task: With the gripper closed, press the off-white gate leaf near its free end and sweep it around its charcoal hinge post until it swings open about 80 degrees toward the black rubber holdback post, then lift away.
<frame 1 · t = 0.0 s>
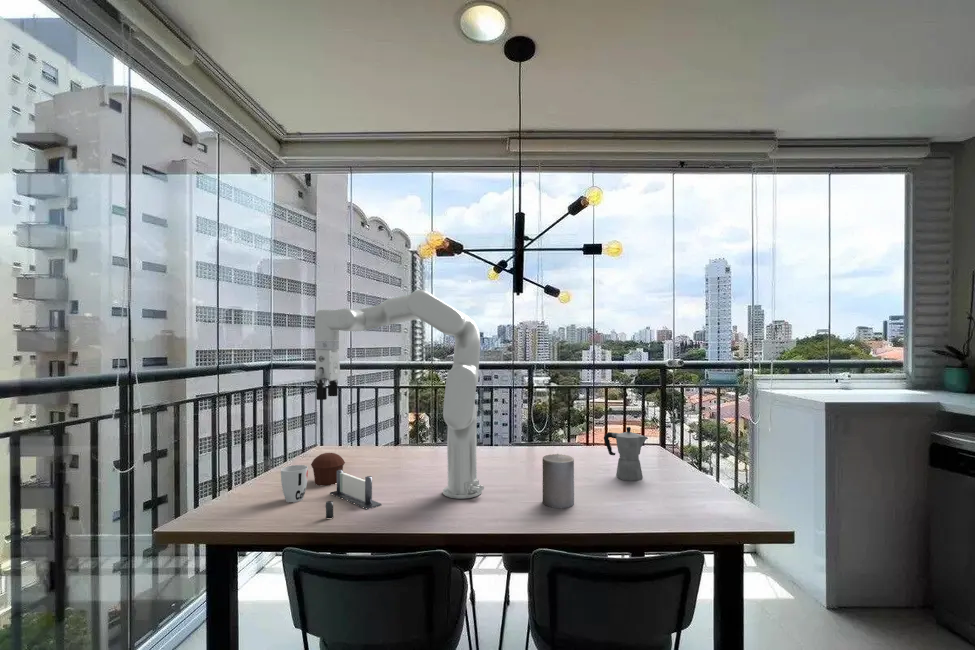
hand: (327, 397, 163), 31 cm above the table, tool pointing down, fingers open, 9 cm apart
pillar candle: (558, 503, 149), on the table
muffin: (328, 482, 174), on the table
coffeepot: (626, 477, 176), on the table
gate frame: (354, 499, 155), on the table
cup: (294, 500, 155), on the table
gate leaf: (353, 486, 155), point 4 cm above the table, hinge at 0.0°
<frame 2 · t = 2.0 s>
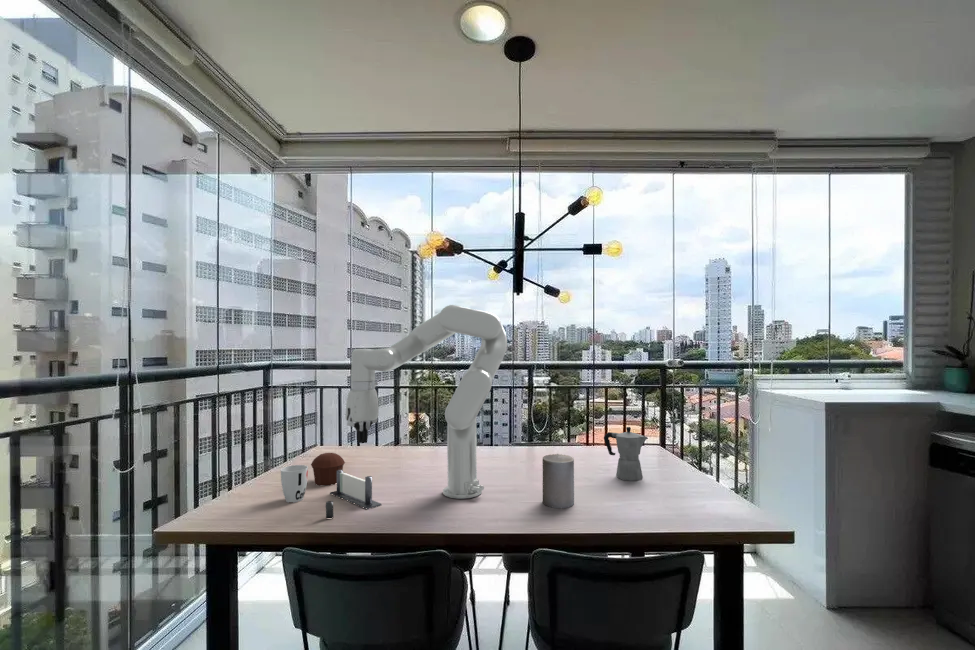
hand: (362, 442, 160), 17 cm above the table, tool pointing down, fingers closed
nothing on the table moved.
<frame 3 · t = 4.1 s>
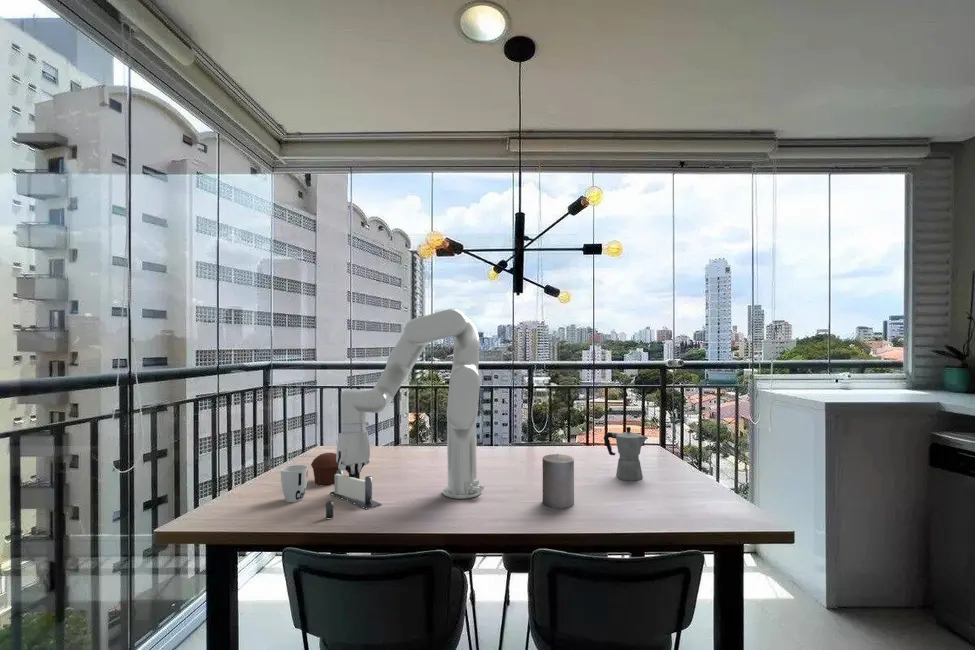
hand: (354, 485, 158), 4 cm above the table, tool pointing down, fingers closed
gate leaf: (350, 487, 154), point 4 cm above the table, hinge at 7.6°, touching gripper
everything else where it was.
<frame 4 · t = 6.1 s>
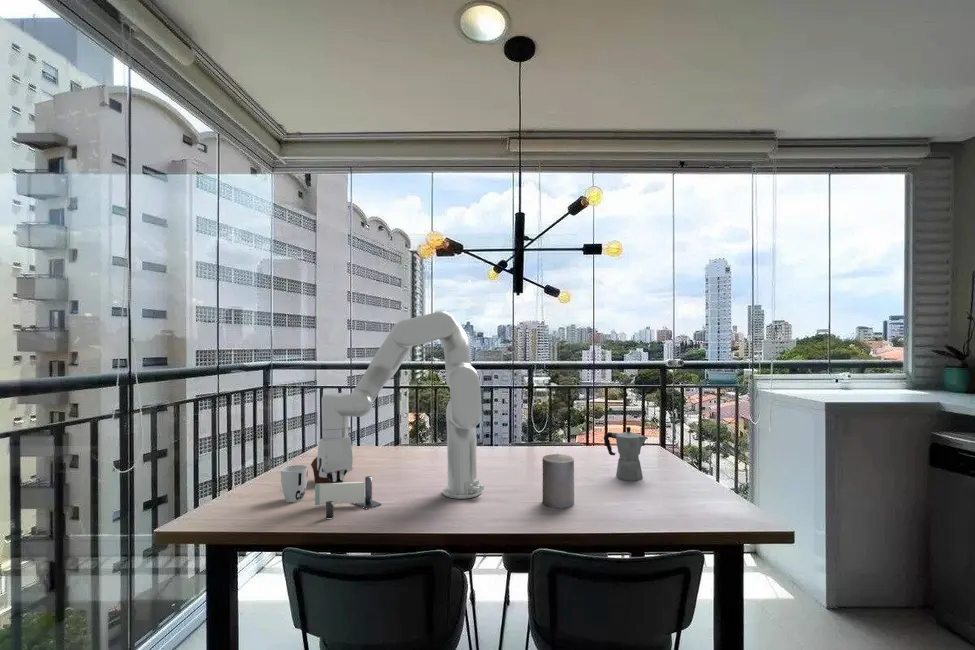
hand: (336, 493, 151), 3 cm above the table, tool pointing down, fingers closed
gate leaf: (340, 493, 148), point 4 cm above the table, hinge at 49.4°, touching gripper
everything else where it was.
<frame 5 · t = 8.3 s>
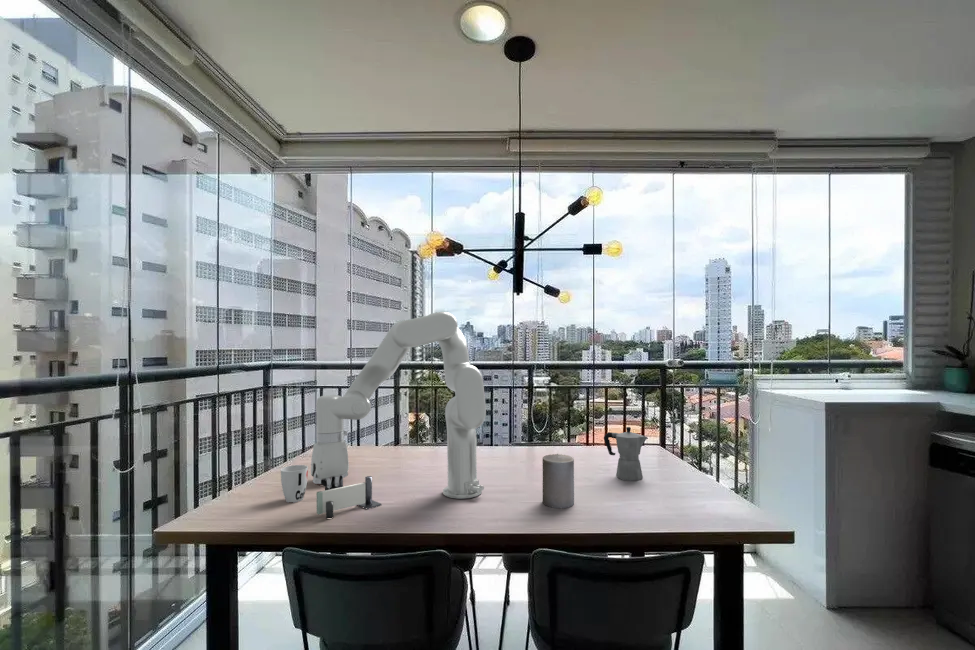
hand: (331, 500, 144), 3 cm above the table, tool pointing down, fingers closed
gate leaf: (341, 497, 144), point 4 cm above the table, hinge at 82.4°, touching gripper
everything else where it was.
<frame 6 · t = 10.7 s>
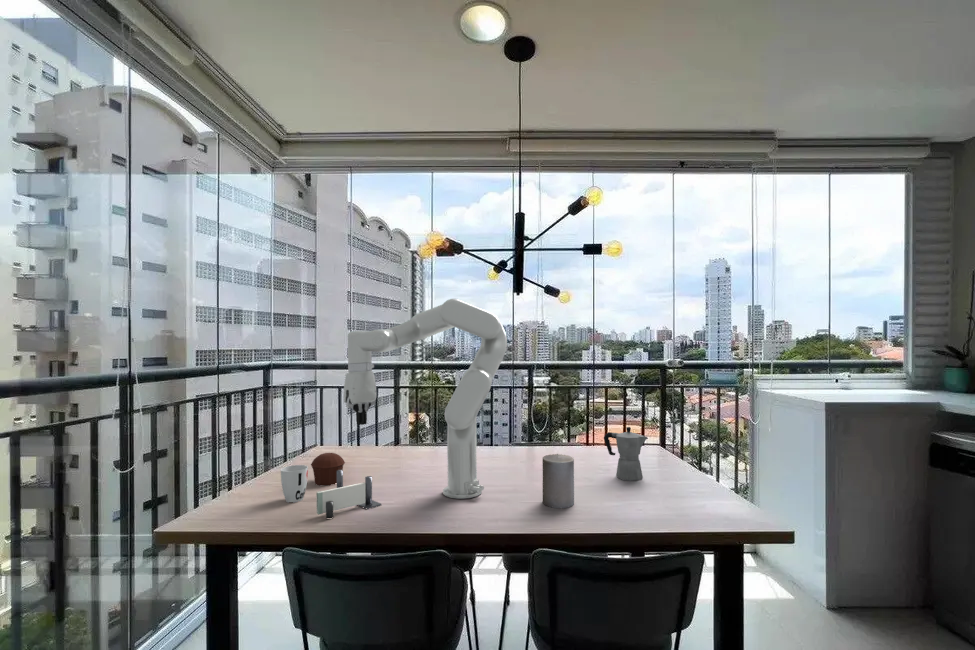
hand: (361, 424, 161), 23 cm above the table, tool pointing down, fingers closed
gate leaf: (341, 497, 144), point 4 cm above the table, hinge at 82.4°
everything else where it was.
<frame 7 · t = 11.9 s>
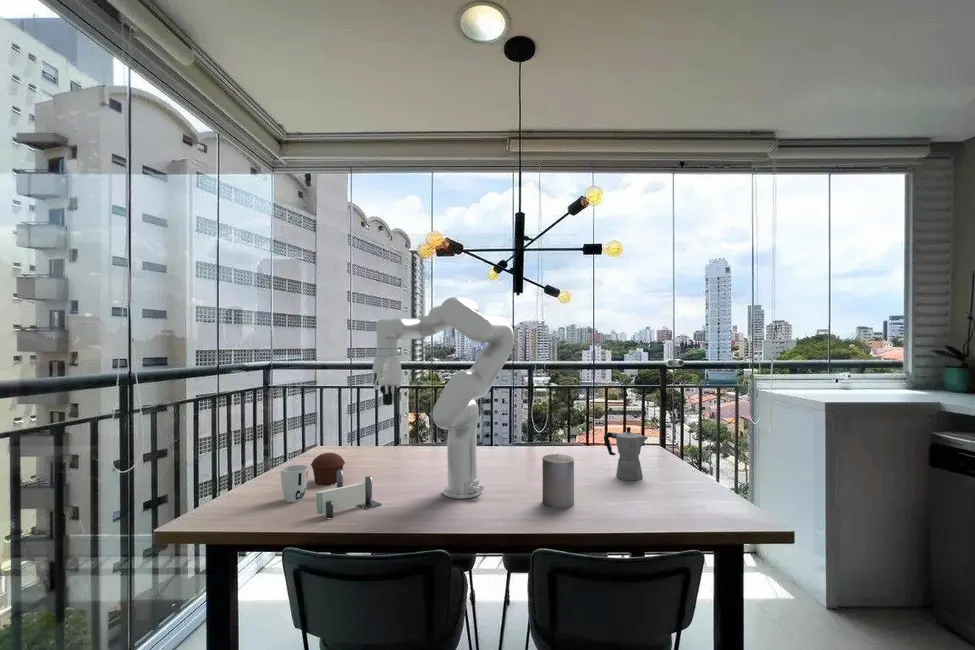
hand: (387, 404, 175), 27 cm above the table, tool pointing down, fingers closed
nothing on the table moved.
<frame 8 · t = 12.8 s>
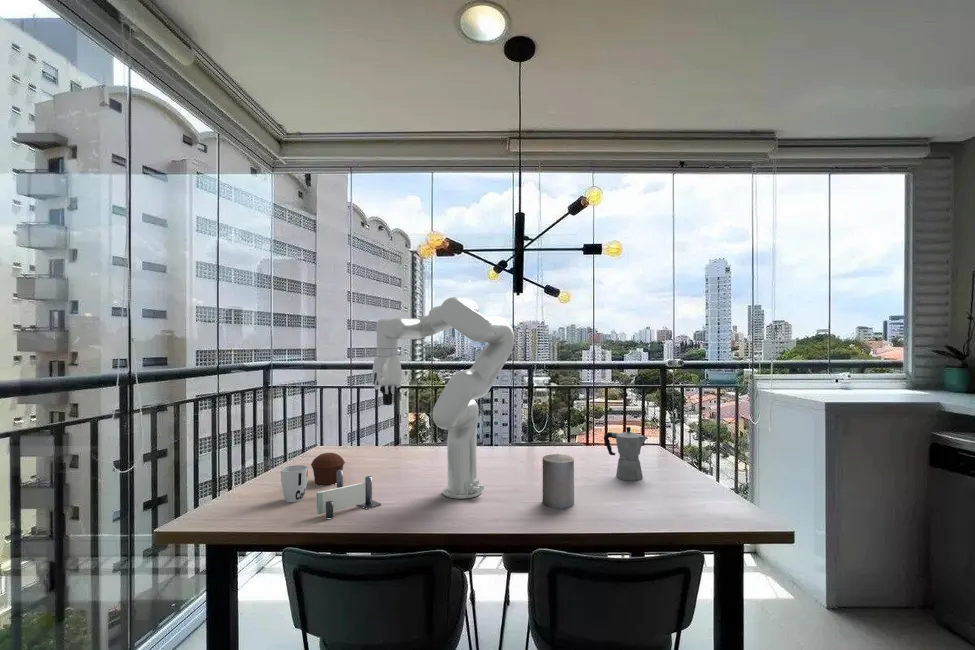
hand: (387, 404, 175), 27 cm above the table, tool pointing down, fingers closed
nothing on the table moved.
at the end: gate leaf at +82° (first picture: +0°); cup moved 0.2 cm from its start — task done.
